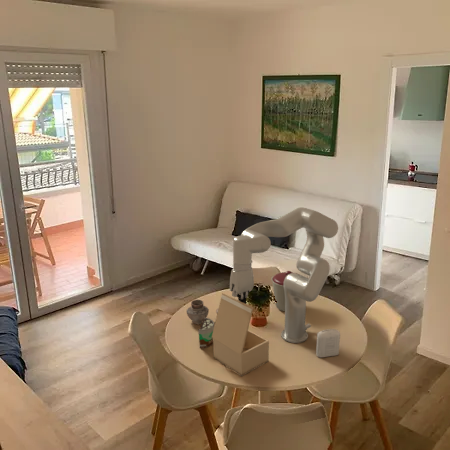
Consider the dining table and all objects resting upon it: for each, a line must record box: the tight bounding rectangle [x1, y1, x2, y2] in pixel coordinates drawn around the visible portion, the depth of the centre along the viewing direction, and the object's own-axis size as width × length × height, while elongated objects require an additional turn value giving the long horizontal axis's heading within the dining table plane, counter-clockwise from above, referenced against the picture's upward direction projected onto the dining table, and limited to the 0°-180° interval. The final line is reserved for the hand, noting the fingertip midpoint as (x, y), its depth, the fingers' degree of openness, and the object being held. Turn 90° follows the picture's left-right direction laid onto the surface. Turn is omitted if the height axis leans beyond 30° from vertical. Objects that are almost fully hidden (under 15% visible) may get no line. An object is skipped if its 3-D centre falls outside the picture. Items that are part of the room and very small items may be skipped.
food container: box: [198, 317, 215, 349], centre depth 216 cm, size 12×6×10 cm, turn 168°
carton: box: [212, 329, 270, 377], centre depth 203 cm, size 16×18×10 cm
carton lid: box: [212, 292, 254, 355], centre depth 195 cm, size 20×18×1 cm
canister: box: [271, 270, 301, 312], centre depth 247 cm, size 18×18×21 cm
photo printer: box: [315, 328, 341, 358], centre depth 205 cm, size 10×4×12 cm, turn 103°
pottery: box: [186, 299, 219, 325], centre depth 235 cm, size 11×25×12 cm, turn 87°
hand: (242, 306), depth 197 cm, fingers closed
